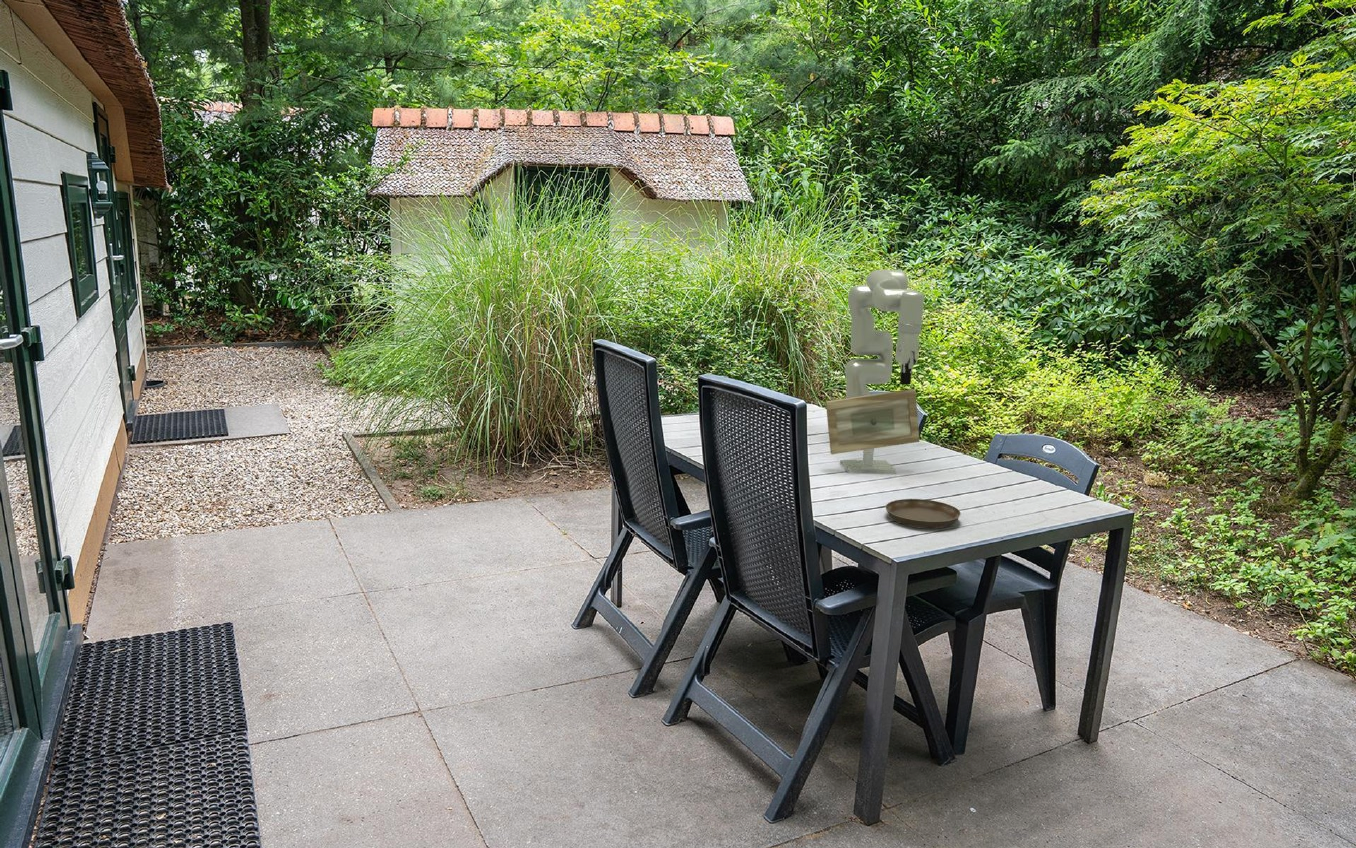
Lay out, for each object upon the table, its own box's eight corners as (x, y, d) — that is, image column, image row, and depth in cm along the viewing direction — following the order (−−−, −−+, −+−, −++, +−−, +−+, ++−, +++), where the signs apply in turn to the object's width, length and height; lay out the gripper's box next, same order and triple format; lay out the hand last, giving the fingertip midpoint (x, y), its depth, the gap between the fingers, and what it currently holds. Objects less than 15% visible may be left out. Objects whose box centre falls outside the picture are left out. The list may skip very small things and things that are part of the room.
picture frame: (830, 453, 316) (825, 401, 312) (917, 440, 317) (913, 388, 313) (832, 454, 313) (827, 402, 309) (920, 442, 314) (916, 390, 310)
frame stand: (840, 464, 325) (843, 413, 321) (885, 464, 326) (889, 414, 322) (848, 473, 313) (852, 420, 309) (895, 473, 314) (899, 421, 310)
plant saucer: (914, 535, 252) (916, 523, 251) (870, 513, 270) (871, 502, 270) (975, 527, 260) (976, 516, 260) (927, 506, 279) (928, 495, 278)
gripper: (891, 326, 314) (887, 380, 318) (905, 331, 300) (900, 388, 304) (913, 327, 315) (909, 380, 319) (928, 332, 300) (923, 388, 304)
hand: (905, 384), depth 311 cm, fingers closed
